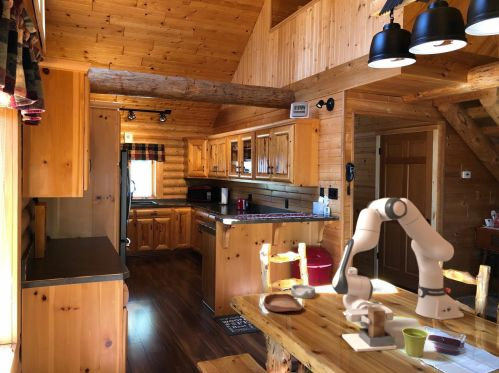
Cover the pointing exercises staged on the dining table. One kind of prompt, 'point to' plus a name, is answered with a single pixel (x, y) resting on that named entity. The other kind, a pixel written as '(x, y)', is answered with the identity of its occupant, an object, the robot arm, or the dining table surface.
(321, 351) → the dining table surface
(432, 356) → the dining table surface
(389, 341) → the steel collar
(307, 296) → the dish
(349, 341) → the base plate
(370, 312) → the walnut post
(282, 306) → the basket
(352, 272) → the syrup box
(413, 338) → the plant pot
